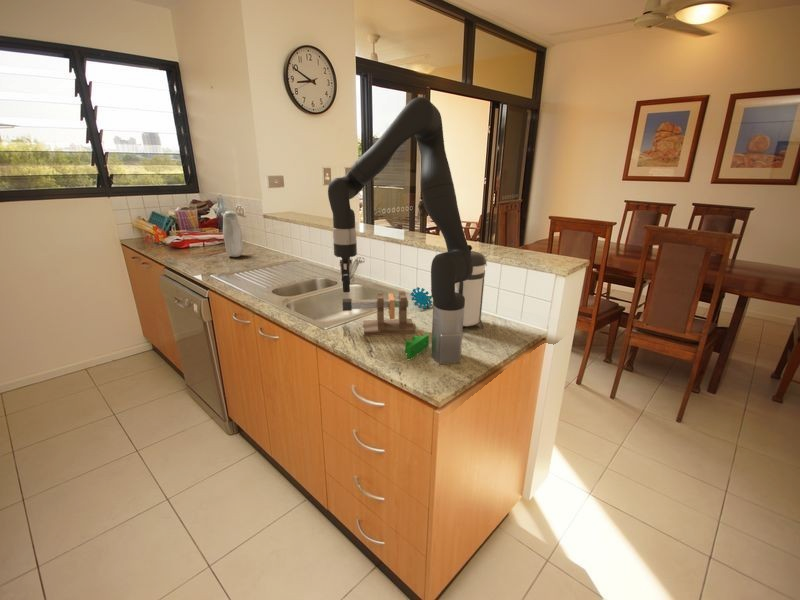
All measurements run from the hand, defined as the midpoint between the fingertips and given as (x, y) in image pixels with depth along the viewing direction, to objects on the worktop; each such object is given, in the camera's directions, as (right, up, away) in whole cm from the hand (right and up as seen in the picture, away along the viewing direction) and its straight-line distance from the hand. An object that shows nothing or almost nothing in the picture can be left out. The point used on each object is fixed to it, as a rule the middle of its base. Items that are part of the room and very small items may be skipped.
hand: (346, 287), depth 129 cm
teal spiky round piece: (+28, -7, +29) cm, 40 cm away
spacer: (+15, -10, +5) cm, 19 cm away
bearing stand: (+14, -15, +7) cm, 22 cm away
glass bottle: (-84, +23, +106) cm, 137 cm away
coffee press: (+41, -14, +11) cm, 44 cm away
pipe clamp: (+23, -21, -9) cm, 32 cm away
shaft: (+10, -7, +3) cm, 12 cm away
